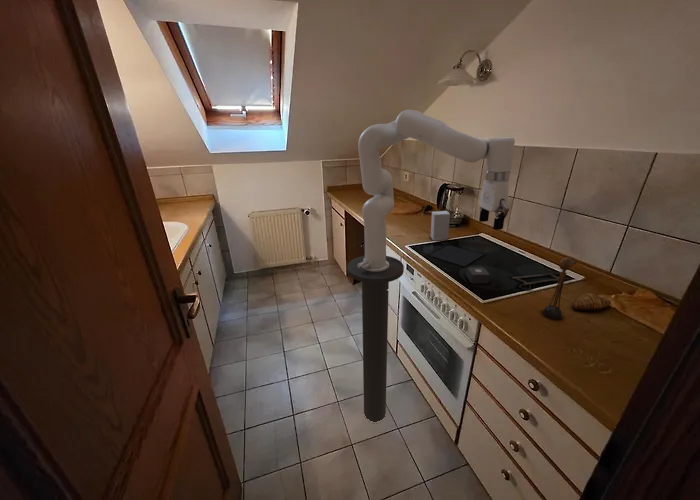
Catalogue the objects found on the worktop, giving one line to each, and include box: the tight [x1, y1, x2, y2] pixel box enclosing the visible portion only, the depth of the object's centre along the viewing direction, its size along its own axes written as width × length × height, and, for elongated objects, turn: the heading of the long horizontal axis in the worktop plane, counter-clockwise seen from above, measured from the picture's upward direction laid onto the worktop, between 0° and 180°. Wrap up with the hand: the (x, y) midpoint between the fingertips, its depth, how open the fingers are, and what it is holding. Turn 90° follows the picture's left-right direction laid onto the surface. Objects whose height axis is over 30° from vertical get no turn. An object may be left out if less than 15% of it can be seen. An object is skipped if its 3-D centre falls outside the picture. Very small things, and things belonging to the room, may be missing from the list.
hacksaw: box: [511, 270, 572, 291], centre depth 114 cm, size 24×10×2 cm, turn 96°
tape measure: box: [465, 266, 491, 285], centre depth 117 cm, size 7×6×4 cm
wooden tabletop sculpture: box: [542, 257, 577, 321], centre depth 91 cm, size 6×5×20 cm
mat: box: [428, 244, 484, 268], centre depth 140 cm, size 18×18×1 cm
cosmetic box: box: [430, 210, 451, 242], centre depth 158 cm, size 8×6×15 cm
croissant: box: [571, 292, 612, 312], centre depth 97 cm, size 14×7×5 cm, turn 100°
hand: (490, 225), depth 106 cm, fingers open, 9 cm apart
